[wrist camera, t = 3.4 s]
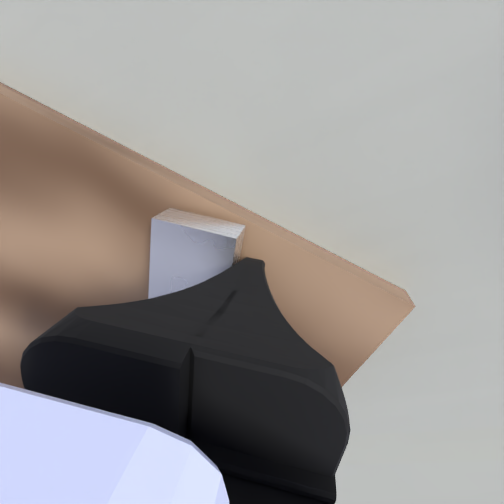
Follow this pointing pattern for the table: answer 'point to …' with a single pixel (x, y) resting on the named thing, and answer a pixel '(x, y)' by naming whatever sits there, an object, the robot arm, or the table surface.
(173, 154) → the table surface
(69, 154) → the base plate
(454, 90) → the table surface
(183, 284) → the grey link
